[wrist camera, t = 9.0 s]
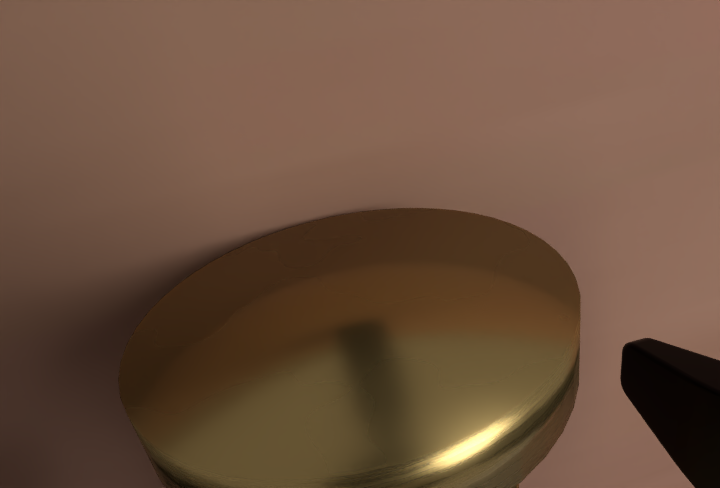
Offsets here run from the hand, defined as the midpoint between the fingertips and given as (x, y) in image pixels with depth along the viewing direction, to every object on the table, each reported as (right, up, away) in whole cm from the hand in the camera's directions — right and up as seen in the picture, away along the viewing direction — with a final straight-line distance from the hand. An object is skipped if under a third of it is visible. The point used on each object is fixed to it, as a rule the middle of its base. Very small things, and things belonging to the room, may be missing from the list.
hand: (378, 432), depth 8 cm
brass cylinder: (0, -4, +5) cm, 6 cm away
